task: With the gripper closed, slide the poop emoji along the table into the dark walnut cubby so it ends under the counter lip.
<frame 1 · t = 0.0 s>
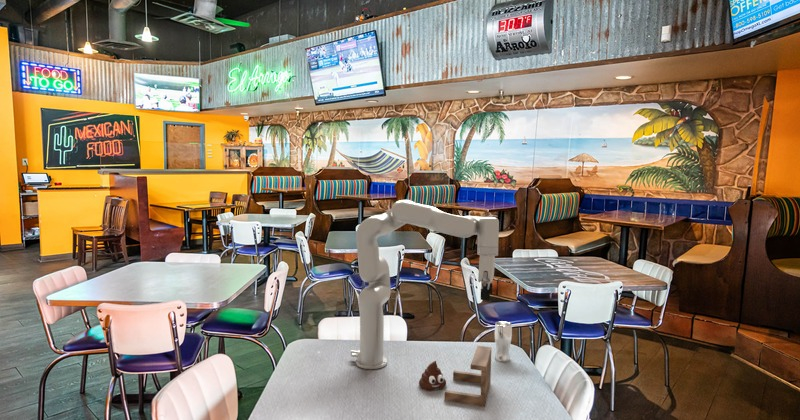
hand: (486, 296, 164), 31 cm above the table, tool pointing down, fingers open, 9 cm apart
poop emoji: (432, 387, 159), on the table
beer glass: (502, 359, 185), on the table
cubby: (466, 391, 155), on the table
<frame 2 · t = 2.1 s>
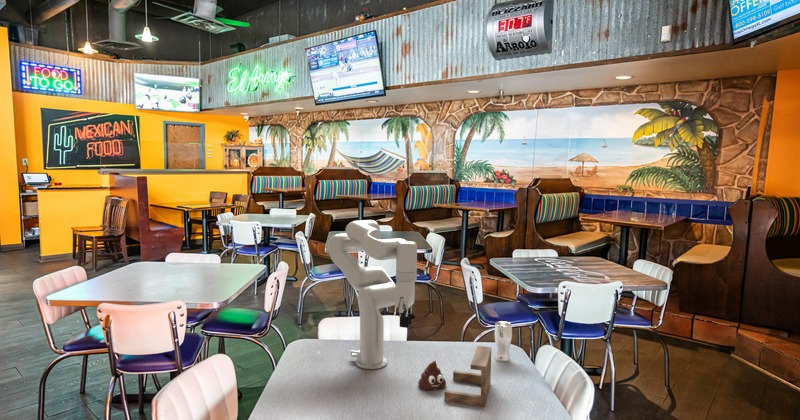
hand: (405, 325, 161), 21 cm above the table, tool pointing down, fingers open, 3 cm apart
nothing on the table moved.
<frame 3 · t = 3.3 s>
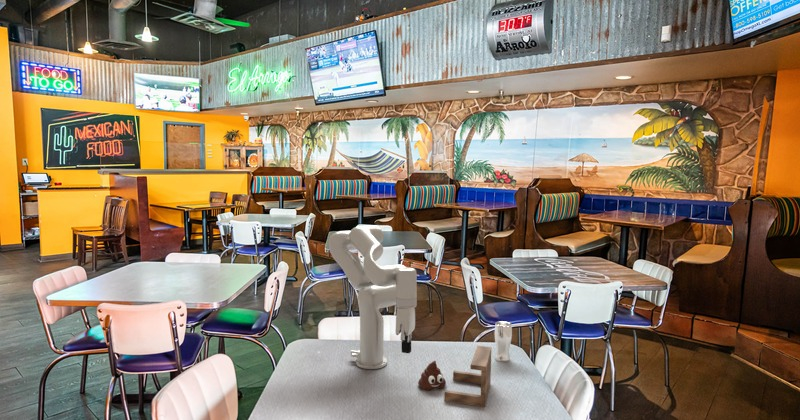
hand: (406, 352, 161), 11 cm above the table, tool pointing down, fingers closed
nothing on the table moved.
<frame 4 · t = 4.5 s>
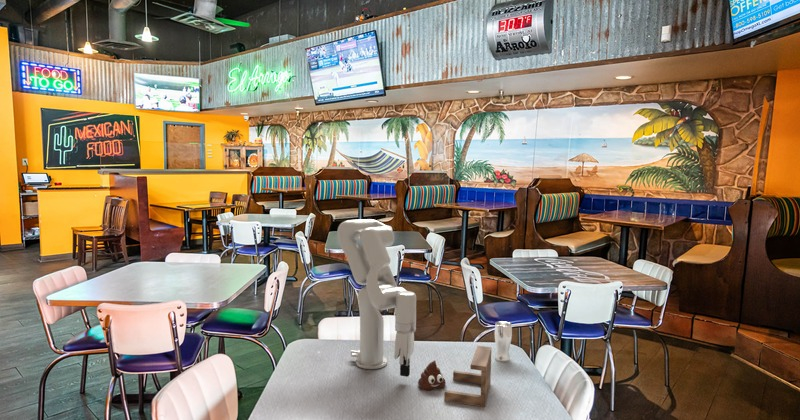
hand: (404, 375, 162), 3 cm above the table, tool pointing down, fingers closed
nothing on the table moved.
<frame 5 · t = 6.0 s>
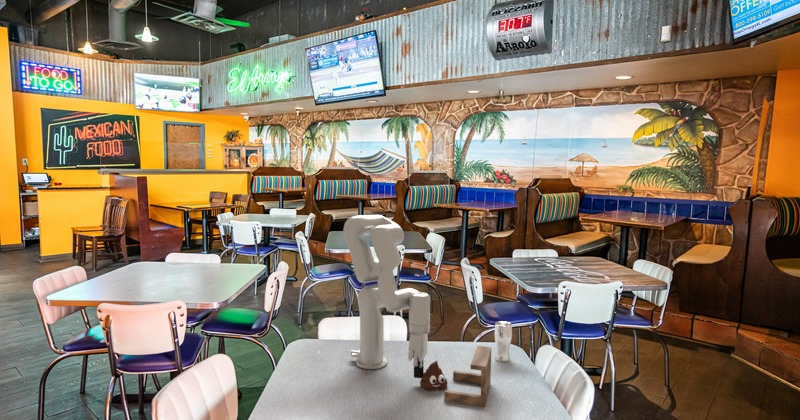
hand: (418, 377, 160), 3 cm above the table, tool pointing down, fingers closed
nothing on the table moved.
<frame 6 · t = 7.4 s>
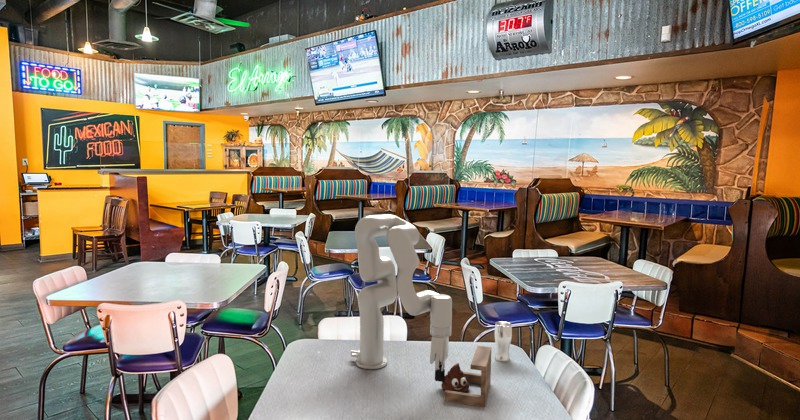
hand: (439, 380, 158), 3 cm above the table, tool pointing down, fingers closed
poop emoji: (455, 389, 157), on the table
everything else where it was.
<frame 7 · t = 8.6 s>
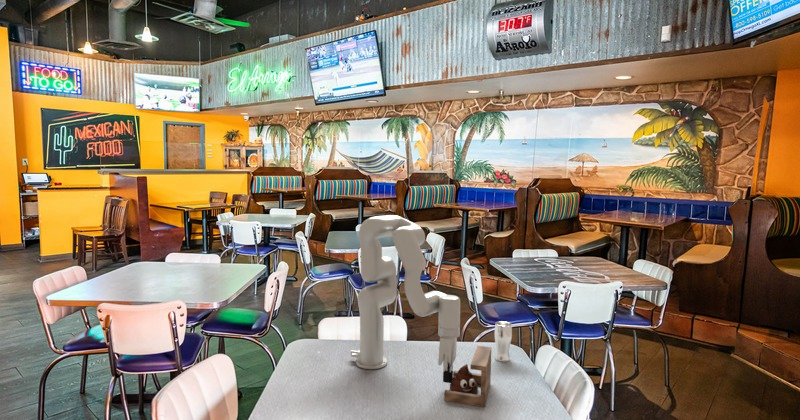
hand: (447, 381, 157), 3 cm above the table, tool pointing down, fingers closed
poop emoji: (463, 391, 156), on the table, touching gripper
everything else where it was.
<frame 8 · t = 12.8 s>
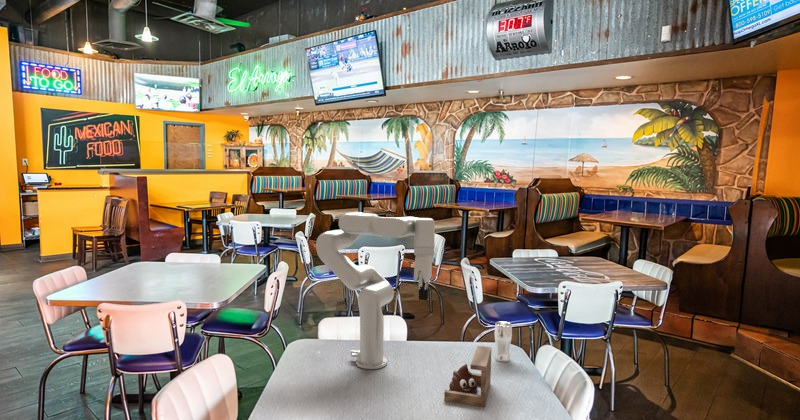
hand: (423, 299, 167), 29 cm above the table, tool pointing down, fingers closed
poop emoji: (463, 390, 156), on the table
everything else where it was.
at the end: poop emoji inside the target area on the cubby (1.6 cm from its centre), point 0.0 cm above the cubby's base; poop emoji tilted 0°; poop emoji moved 10.9 cm from its start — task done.
